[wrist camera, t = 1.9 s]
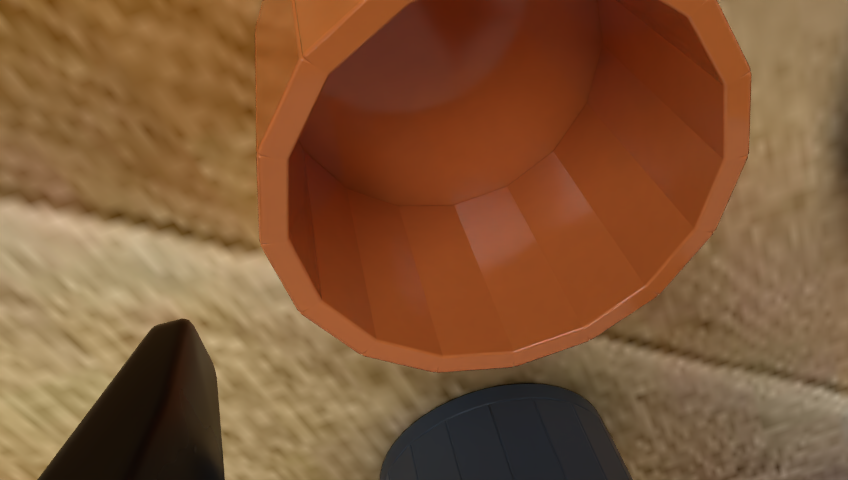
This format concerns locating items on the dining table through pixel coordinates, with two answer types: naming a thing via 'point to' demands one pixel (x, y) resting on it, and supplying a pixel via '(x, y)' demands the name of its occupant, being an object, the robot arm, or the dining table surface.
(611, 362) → the dining table surface
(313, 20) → the cup
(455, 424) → the jar
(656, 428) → the dining table surface
